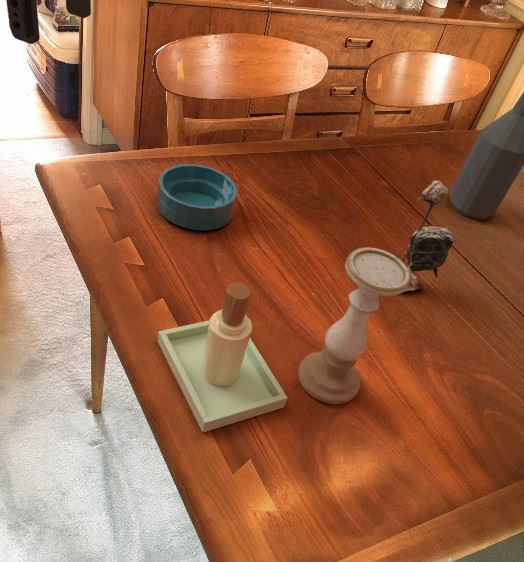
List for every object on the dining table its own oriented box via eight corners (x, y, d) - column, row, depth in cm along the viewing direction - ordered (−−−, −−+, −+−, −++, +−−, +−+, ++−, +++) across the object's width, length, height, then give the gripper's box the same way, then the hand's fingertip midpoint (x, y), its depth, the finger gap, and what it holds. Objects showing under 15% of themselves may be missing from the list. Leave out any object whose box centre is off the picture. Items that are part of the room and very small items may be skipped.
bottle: (501, 218, 118) (589, 74, 96) (468, 223, 114) (552, 73, 92) (471, 191, 124) (548, 49, 102) (438, 194, 119) (510, 47, 98)
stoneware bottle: (194, 378, 72) (209, 296, 61) (209, 351, 76) (225, 269, 65) (232, 392, 72) (253, 312, 61) (244, 364, 75) (266, 284, 65)
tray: (157, 341, 76) (158, 331, 74) (233, 324, 81) (235, 314, 79) (202, 432, 67) (204, 423, 66) (284, 407, 72) (287, 397, 71)
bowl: (144, 216, 94) (145, 190, 90) (175, 180, 103) (178, 156, 99) (216, 242, 93) (221, 217, 89) (242, 204, 102) (247, 180, 98)
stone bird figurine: (431, 306, 93) (490, 204, 79) (366, 284, 93) (414, 179, 79) (433, 277, 99) (489, 178, 84) (372, 257, 99) (418, 154, 85)
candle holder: (327, 347, 81) (375, 235, 67) (370, 387, 78) (431, 278, 63) (284, 371, 77) (326, 256, 62) (329, 415, 73) (384, 304, 58)
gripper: (45, -236, 43) (59, -4, 55) (-87, -251, 34) (-37, 35, 45) (133, -209, 43) (128, 20, 55) (25, -216, 33) (47, 65, 45)
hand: (53, 27), depth 50 cm, fingers open, 8 cm apart
